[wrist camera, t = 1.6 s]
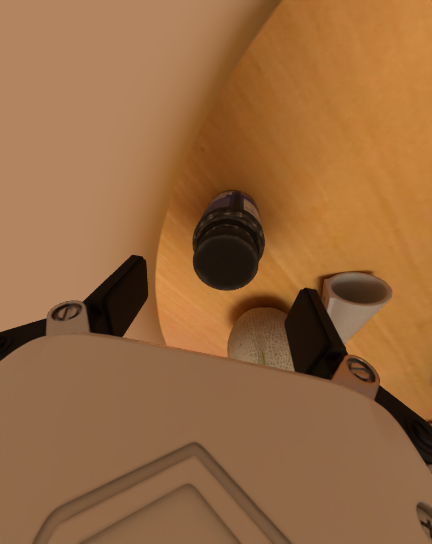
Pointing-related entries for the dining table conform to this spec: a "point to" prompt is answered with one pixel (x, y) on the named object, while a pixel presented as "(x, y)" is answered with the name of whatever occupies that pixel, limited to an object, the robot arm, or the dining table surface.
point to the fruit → (261, 338)
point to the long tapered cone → (353, 300)
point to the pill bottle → (228, 241)
